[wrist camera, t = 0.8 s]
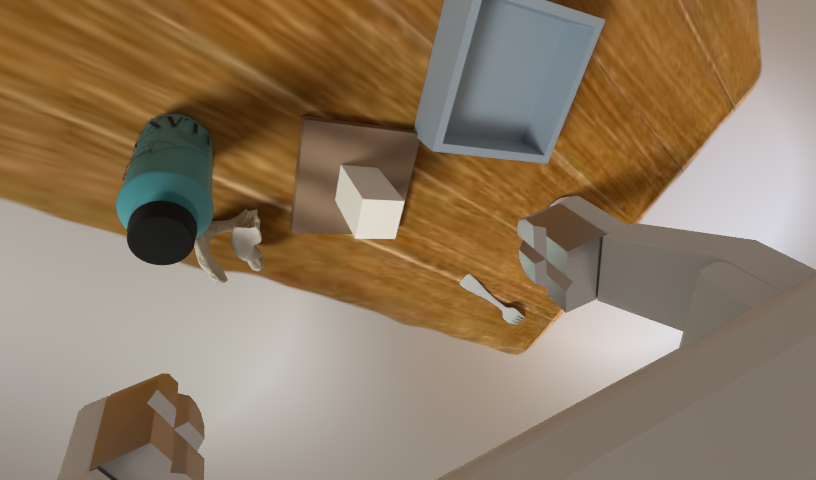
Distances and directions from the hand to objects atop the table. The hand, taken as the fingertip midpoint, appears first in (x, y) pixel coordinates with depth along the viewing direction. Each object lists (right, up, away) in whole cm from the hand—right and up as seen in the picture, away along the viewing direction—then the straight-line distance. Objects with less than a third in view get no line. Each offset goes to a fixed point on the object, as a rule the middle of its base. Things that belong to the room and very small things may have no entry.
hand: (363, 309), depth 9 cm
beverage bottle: (-22, +12, +34) cm, 42 cm away
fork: (+16, -9, +67) cm, 69 cm away
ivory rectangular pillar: (-5, +8, +42) cm, 43 cm away
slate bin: (+11, +22, +42) cm, 49 cm away
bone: (-19, +3, +41) cm, 45 cm away
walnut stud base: (-6, +9, +43) cm, 44 cm away
